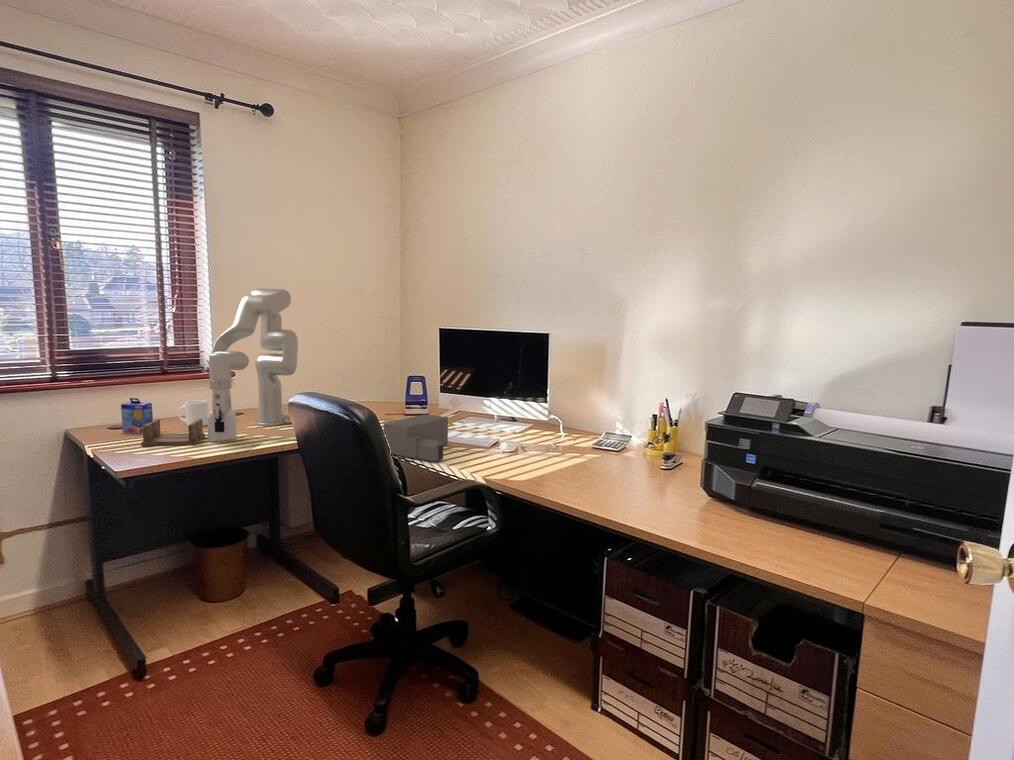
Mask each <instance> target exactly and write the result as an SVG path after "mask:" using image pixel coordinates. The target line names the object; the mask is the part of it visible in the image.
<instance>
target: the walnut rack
mask: <svg viewBox="0 0 1014 760" xmlns="http://www.w3.org/2000/svg"><path fill="white" fill-rule="evenodd" d="M187 427H188V433H161V420H160V419H157V418H155V419H153V421H152V422H150V423H148V424H146V425H144V426H143V435H142V439H143V440H142V441H141V442H140V446H141V447H163V446H167V447H168V446H195V445H197V444H198V443H199V442H200V441H202V440H203V439H204V438H205V437H206V433H205V432H204V431H203V430H204V429H203V428H204V426H202V419H198V420H196V421H194V422H193V423H191V424H190V425H188V426H187Z"/></svg>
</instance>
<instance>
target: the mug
mask: <svg viewBox="0 0 1014 760" xmlns="http://www.w3.org/2000/svg"><path fill="white" fill-rule="evenodd" d="M184 403H185V404H183V405H181V407H179V409H178V412H177V413H178V418H179V420H180V421H181V422H183V423H185V425H186V427H188V425H190V424H191V423H193V422H194V421H196V420H198V419H202V427H204V426H205V425H206V426H208V413H209V401H208V400H205V399H204V400H203V399H202V400H201V399H200V400H199V399H196V400H186V401H185V402H184ZM184 409H185V418H183V417H181V414H180V413H181V411H182V410H184ZM206 426H205V427H206Z"/></svg>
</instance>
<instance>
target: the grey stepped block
mask: <svg viewBox="0 0 1014 760" xmlns="http://www.w3.org/2000/svg"><path fill="white" fill-rule="evenodd" d="M384 433H385V435H386V438H387V440H388V443H389V446H390V449H391V453H392V455H396V456H401V457H405V458H406V457H407V458H410V459H411V458H412V459H417V460H418V459H419V460H422V461H423V460H424V461H429V462H434V463H435V462H438V461H441V460H444V446H446V445H448V443H449V441H448V440H449V439H448V438H449V417H446V416H441V415H434V414H427V413H425V414H421V415H418V416H417V415H416V416H412V417H407V418H403V419H402V418H401V419H399V420H394V421H389V422H386V423H383V434H384Z"/></svg>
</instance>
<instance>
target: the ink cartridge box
mask: <svg viewBox="0 0 1014 760" xmlns="http://www.w3.org/2000/svg"><path fill="white" fill-rule="evenodd" d="M120 407H121V408H120V409H121V410H120V411H121V424H122V425H121V427H122V428H121V429H122V433H124V434H143V426H144V425H146V424H148V423H150V422H152V421H154V418H153V403H152V402H141V401H140V400H139V398H137V397H136V398H135V397H129V402H123V403H121V404H120Z"/></svg>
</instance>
